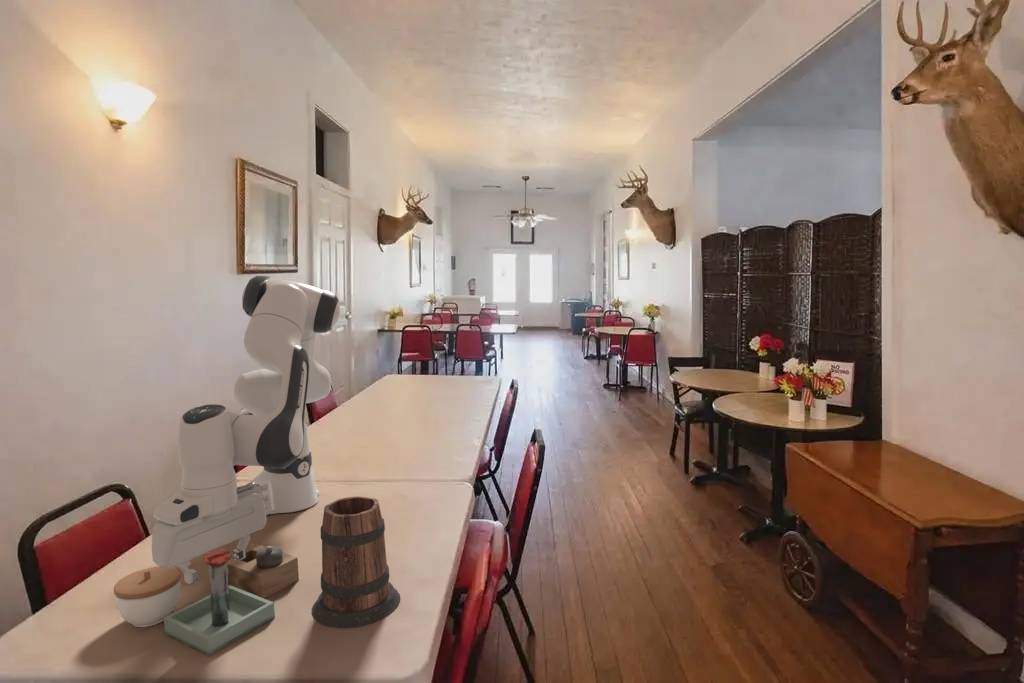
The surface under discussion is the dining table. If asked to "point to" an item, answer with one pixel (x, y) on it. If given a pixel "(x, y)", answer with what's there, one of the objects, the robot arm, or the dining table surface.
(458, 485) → the dining table surface
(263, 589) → the block
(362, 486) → the dining table surface
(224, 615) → the lock pin
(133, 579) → the lidded jar
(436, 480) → the dining table surface
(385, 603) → the tankard
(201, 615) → the tray
